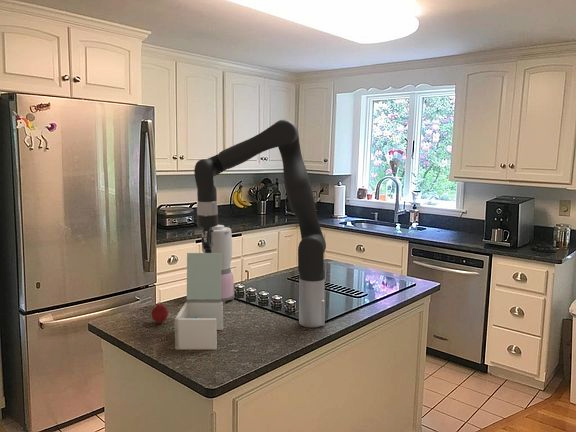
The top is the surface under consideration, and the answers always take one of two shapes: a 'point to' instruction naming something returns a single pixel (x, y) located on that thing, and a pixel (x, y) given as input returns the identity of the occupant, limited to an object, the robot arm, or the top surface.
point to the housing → (198, 325)
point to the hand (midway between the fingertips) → (208, 258)
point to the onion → (159, 313)
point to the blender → (224, 260)
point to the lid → (203, 277)
